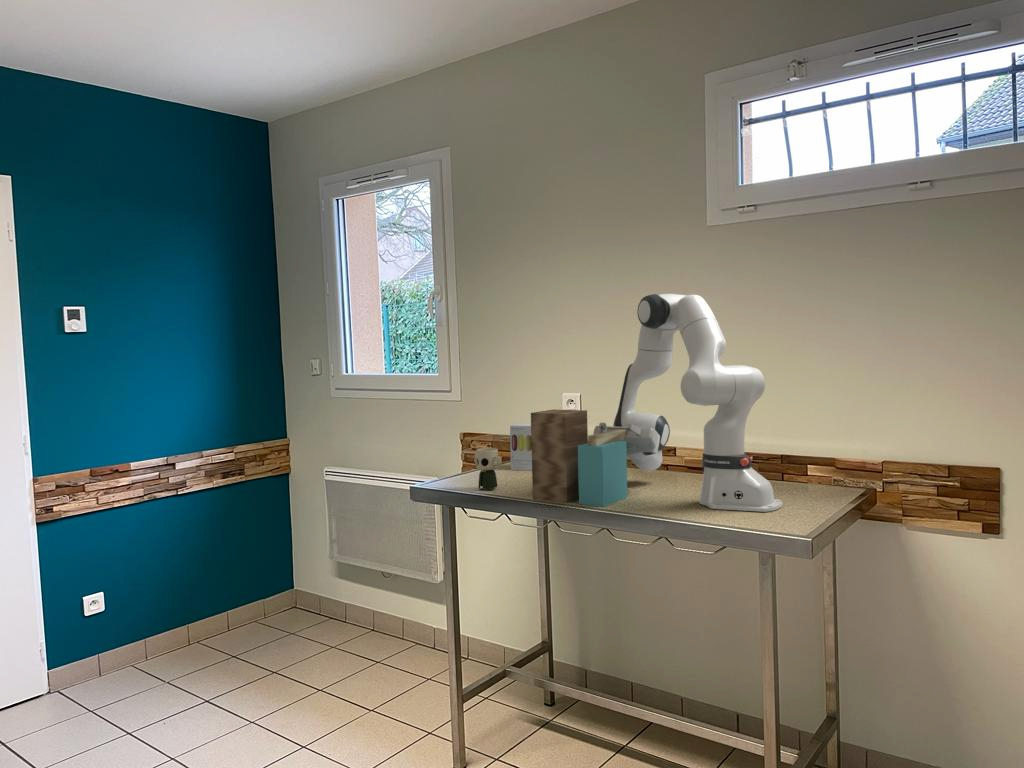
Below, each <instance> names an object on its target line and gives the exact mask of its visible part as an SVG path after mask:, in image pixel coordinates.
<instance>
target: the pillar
mask: <svg viewBox="0 0 1024 768" xmlns="http://www.w3.org/2000/svg"><path fill="white" fill-rule="evenodd" d="M530 423H531V446H532V470H531V472H532V473H531V475H532V476H531V478H532V479H531V480H532V481H531V482H532V499H533V498H534V499H533V500H537V499H540V500H539V501H546V500H548V501H547V502H555V501H557V503H568V504H569V503H570V502H573V500H574V501H577V500H579V499H578V498H579V478H578V445H582V444H587V443H588V436H589V433H588V430H589V429H588V428H589V427H588V410H587V409H586V410H585V409H584V410H583V409H580V410H579V409H549V410H542V411H540V410H539V411H536V412H535V411H534V412H530ZM576 499H577V500H576Z"/></svg>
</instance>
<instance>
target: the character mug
mask: <svg viewBox="0 0 1024 768" xmlns="http://www.w3.org/2000/svg"><path fill="white" fill-rule="evenodd" d="M474 463H475V466H476V469H477V470H479V476H478V484H477V485H478V489H482V490H491V489H492V490H493V489H495V488H497V487H498V481H497V474H496V472H495V470H497V469H498V468H499V467H500V465H501V458H500V456H499V450H498V448H494V447H483V448H482V447H481V448H478V449H475V454H474ZM481 487H482V488H481Z"/></svg>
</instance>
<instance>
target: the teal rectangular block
mask: <svg viewBox="0 0 1024 768" xmlns="http://www.w3.org/2000/svg"><path fill="white" fill-rule="evenodd" d="M627 459H628V457H627V450H626V441H615V442H611V443H606V444H602V445H598V446H591V445H588V443H587V444H582V445H578V478H579V499H578V504H579V505H583V506H584V505H585V506H592V507H593V506H595V507H602V508H604V507H606V506H609V505H612V504H614V502H615V503H616V502H620V501H621V500H625V499H628V463H627V461H628V460H627ZM624 498H625V499H624ZM619 500H620V501H619Z"/></svg>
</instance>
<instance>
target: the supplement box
mask: <svg viewBox="0 0 1024 768" xmlns="http://www.w3.org/2000/svg"><path fill="white" fill-rule="evenodd" d="M509 433H510V434H509V440H510V441H509V444H510V445H509V446H510V447H509V448H510V453H509V454H510V455H509V456H510V471H532V446H531V422H530V423H527V422H526V423H522V422H521V423H520V422H519V423H517V422H515V423H513V424H510V426H509Z"/></svg>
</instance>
